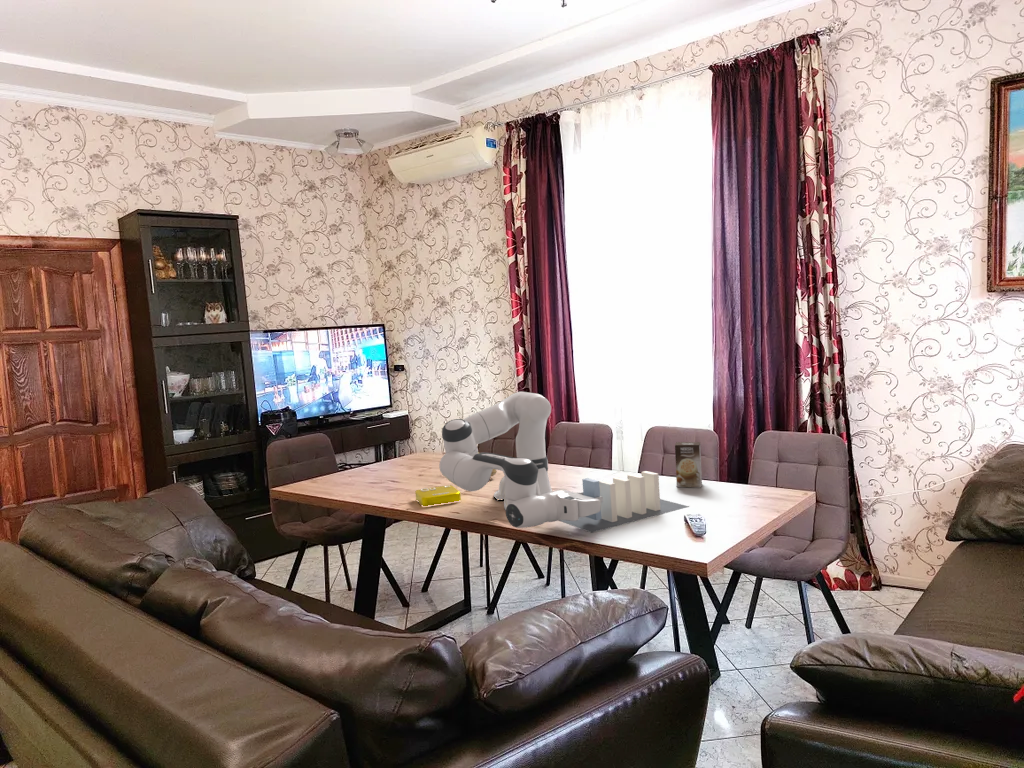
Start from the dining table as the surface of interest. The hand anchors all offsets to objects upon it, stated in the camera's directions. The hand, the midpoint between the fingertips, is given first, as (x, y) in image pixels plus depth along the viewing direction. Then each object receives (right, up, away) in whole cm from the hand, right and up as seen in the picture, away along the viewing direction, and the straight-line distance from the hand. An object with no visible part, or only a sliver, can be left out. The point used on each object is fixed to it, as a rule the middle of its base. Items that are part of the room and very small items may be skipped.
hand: (594, 496), depth 218 cm
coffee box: (+41, -3, +43) cm, 59 cm away
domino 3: (+15, -6, +9) cm, 19 cm away
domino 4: (+21, -6, +12) cm, 25 cm away
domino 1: (+5, -8, +3) cm, 10 cm away
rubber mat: (+10, -8, +11) cm, 17 cm away
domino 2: (+10, -7, +6) cm, 14 cm away
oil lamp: (-38, -6, +83) cm, 92 cm away
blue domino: (0, -7, 0) cm, 7 cm away
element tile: (-54, -10, +49) cm, 73 cm away
